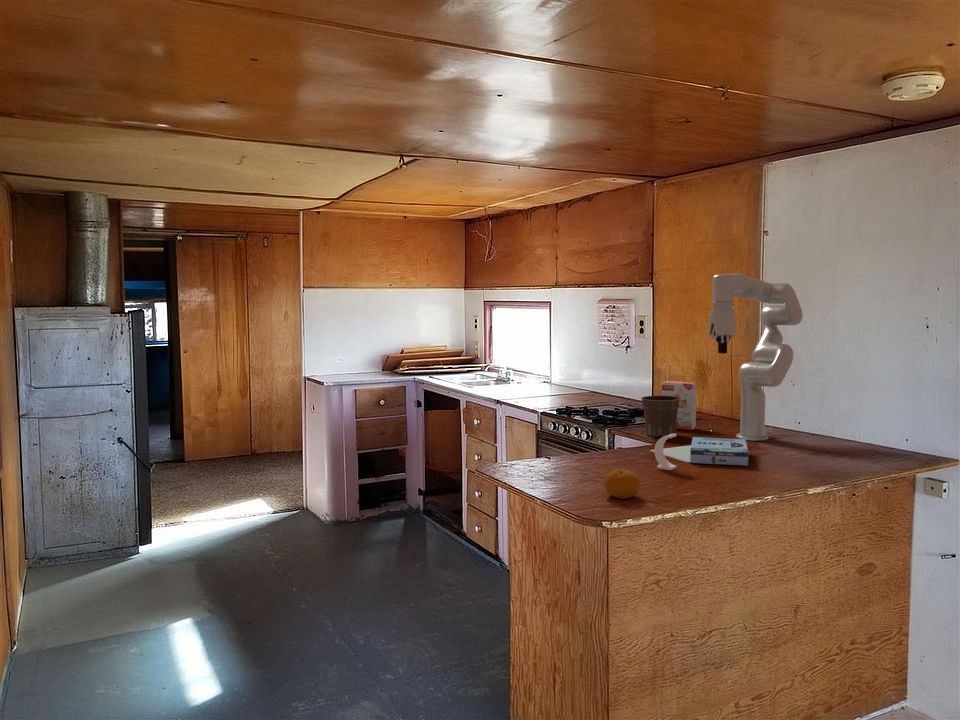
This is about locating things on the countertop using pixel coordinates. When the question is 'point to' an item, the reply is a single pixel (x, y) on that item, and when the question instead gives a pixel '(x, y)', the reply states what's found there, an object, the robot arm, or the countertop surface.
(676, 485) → the countertop surface
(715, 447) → the gum box
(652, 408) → the plant pot
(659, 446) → the headphone stand
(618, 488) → the fruit
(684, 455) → the mat
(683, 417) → the cracker box
